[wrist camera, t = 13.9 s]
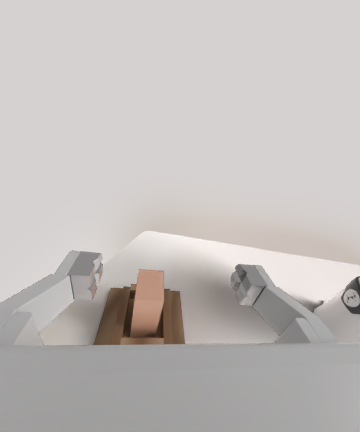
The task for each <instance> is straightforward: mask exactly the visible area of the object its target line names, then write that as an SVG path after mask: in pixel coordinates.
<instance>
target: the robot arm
mask: <svg viewBox="0 0 360 432" xmlns="http://www.w3.org/2000/svg"><path fill="white" fill-rule="evenodd" d="M101 260H102V254H101V253H92V252H81V251H71V252H69V254H68V255H67V256H66V258H65V259H64V261H63V262H62V263H61V265H60V266H59V268H58V269H57V271H56V272H55V273H54V275H52V274H51V275H49V276H47V277H45V278H43V279H42V280H40V281H38V282H36V283H35V284H33V285H31V286H29V287H28V288H26V289H24V290H22V291H21V292H19V293H17V294H15V295H14V296H12V297H10V298H8V299H7V300H5V301H3V302H1V303H0V432H360V276H359V277H356V278H355V279H353V280H352V281H351V283H349V284H348V285H347V286H346V288H345V289H343V290H342V291H341V292H339V293H338V294H336V295H335V296H334V297H332V298H331V299H330V300H328V299H326V300H325V301H324V302H323V304H322V305H321V306H319V307H317V308H315V310H314V313H312V312H311V311H310V310H308V309H307V308H306V307H304V306H303V305H302V304H300V303H299V302H298V301H296V300H295V299H293V298H292V297H291V296H289V295H288V294H287V293H285V292H284V291H283V290H281V289H280V288H279V287H276V286H275V285H274V283H273V282H272V280H271V279H270V278H269V276H268V275H267V273H266V272H265V270H264V269H263V267H262V266H259V265H244V264H238V265H237V266H236V267H235V270H236V271H235V272H234V273H233V274H232V276H231V285H232V288H233V289H234V290H235V291H236V298H237V300H238V302H239V305H246V306H252V307H253V308H254V309H255V310H256V311H257V312H258V313H259V314H260V315H261V317H262V318H263V319H264V320H265V321H266V322H267V323H268V324H269V325H270V326H271V327H272V329H273V330H274V331H275V332H276V333H277V334H278V335H279V337H278V338H277V339H276V340H275V342H274V343H260V344H157V345H61V346H44V344H43V342H42V339H41V337H40V334H39V332H40V331H41V330H43V329H44V328H45V327H46V326H47V325H48V324H49V323H50V322H51V321H53V320H54V319H55V318H56V317H57V316H58V315H59V314H60V313H61V312H63V311H64V310H65V309H66V308H67V307H68V306H69V305H70V304H71V303H72V302H74V300H92V299H93V297H94V294H95V291H96V289H97V288H96V284H97V283H98V282H99V281H100V278H101V275H102V269H103V264H102V263H101Z"/></svg>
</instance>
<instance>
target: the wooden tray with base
mask: <svg viewBox="0 0 360 432" xmlns="http://www.w3.org/2000/svg"><path fill="white" fill-rule="evenodd" d="M136 287H137V284H131V287H123V289H122V288H111V289H110V293H109V296H108V299H107V303H106V306H105V309H104V313H103V316H102V319H101V322H100V326H99V329H98V332H97V336H96V339H95V342H94V345H157V344H185V340H184V330H183V321H182V311H181V301H180V291H170V289H164V303H163V307H162V311H161V315H160V319H159V323H158V327H157V331H156V334H155V337H130V333H131V325H132V317H133V309H134V300H135V294H136Z"/></svg>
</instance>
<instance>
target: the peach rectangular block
mask: <svg viewBox="0 0 360 432" xmlns="http://www.w3.org/2000/svg"><path fill="white" fill-rule="evenodd" d="M163 303H164V271H157V270H143V269H139V274H138V280H137V287H136V294H135V300H134V309H133V317H132V325H131V333H130V337H155V334H156V331H157V327H158V323H159V319H160V315H161V311H162V307H163Z"/></svg>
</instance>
